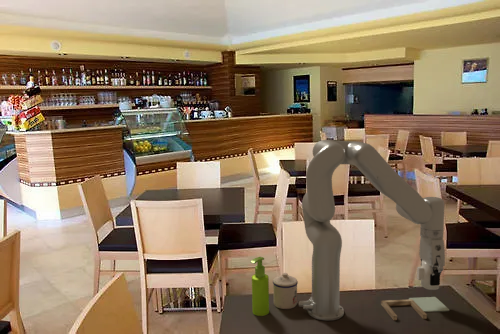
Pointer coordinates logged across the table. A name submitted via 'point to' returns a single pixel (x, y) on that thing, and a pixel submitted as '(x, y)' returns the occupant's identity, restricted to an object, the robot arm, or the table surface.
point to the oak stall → (402, 302)
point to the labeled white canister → (426, 276)
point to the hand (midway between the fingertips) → (430, 280)
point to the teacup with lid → (285, 291)
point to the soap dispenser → (260, 289)
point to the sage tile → (430, 304)
